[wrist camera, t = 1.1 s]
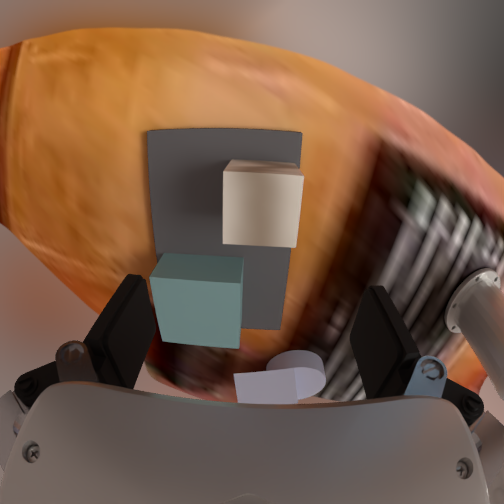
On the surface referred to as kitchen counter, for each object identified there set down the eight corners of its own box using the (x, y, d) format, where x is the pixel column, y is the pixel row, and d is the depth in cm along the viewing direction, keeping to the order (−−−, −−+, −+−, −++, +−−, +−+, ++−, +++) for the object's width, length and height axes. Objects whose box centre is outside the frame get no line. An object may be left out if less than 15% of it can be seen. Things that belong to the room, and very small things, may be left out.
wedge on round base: (247, 388, 43) (322, 379, 42) (245, 421, 37) (328, 412, 36) (235, 356, 39) (322, 345, 38) (231, 392, 33) (329, 381, 32)
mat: (300, 132, 25) (302, 133, 24) (279, 324, 36) (279, 329, 35) (150, 130, 25) (147, 131, 24) (169, 316, 36) (167, 321, 35)
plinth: (243, 257, 30) (240, 283, 26) (241, 319, 34) (239, 348, 30) (164, 252, 30) (149, 276, 26) (172, 313, 34) (162, 340, 30)
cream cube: (294, 163, 25) (303, 175, 20) (289, 221, 28) (295, 247, 23) (231, 159, 25) (223, 171, 20) (230, 217, 28) (222, 243, 23)
